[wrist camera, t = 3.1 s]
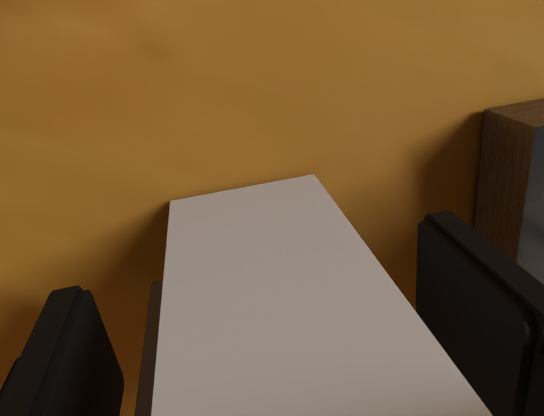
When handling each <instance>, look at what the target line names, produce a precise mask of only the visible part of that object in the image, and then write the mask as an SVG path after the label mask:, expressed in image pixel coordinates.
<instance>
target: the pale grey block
mask: <svg viewBox="0 0 544 416" xmlns="http://www.w3.org/2000/svg"><path fill="white" fill-rule="evenodd" d="M135 416H493V415H492V414H491V413H490V411H489V410H488V409H487V407H486V406H485V405H484V403H483V402H482V401H481V399H480V398H479V396H478V395H477V394H476V392H475V391H474V390H473V388H472V387H471V386H470V384H469V383H468V382H467V380H466V379H465V378H464V376H463V375H462V374H461V372H460V371H459V369H458V368H457V367H456V365H455V364H454V363H453V361H452V360H451V359H450V357H449V356H448V355H447V353H446V352H445V351H444V349H443V348H442V346H441V345H440V344H439V342H438V341H437V340H436V338H435V337H434V336H433V334H432V333H431V332H430V330H429V329H428V328H427V326H426V325H425V324H424V322H423V321H422V319H421V318H420V317H419V315H418V314H417V313H416V311H415V310H414V309H413V307H412V306H411V305H410V303H409V302H408V301H407V299H406V298H405V296H404V295H403V294H402V292H401V291H400V290H399V288H398V287H397V286H396V284H395V283H394V282H393V280H392V279H391V278H390V276H389V275H388V273H387V272H386V271H385V269H384V268H383V267H382V265H381V264H380V263H379V261H378V260H377V259H376V257H375V256H374V255H373V253H372V252H371V251H370V249H369V248H368V246H367V245H366V244H365V242H364V241H363V240H362V238H361V237H360V236H359V234H358V233H357V232H356V230H355V229H354V228H353V226H352V225H351V223H350V222H349V221H348V219H347V218H346V217H345V215H344V214H343V213H342V211H341V210H340V209H339V207H338V206H337V205H336V203H335V202H334V201H333V199H332V198H331V196H330V195H329V194H328V192H327V191H326V190H325V188H324V187H323V186H322V184H321V183H320V182H319V180H318V179H317V178H316V176H315V175H314V174H312V175H306V176H301V177H296V178H290V179H285V180H280V181H274V182H269V183H264V184H258V185H253V186H248V187H242V188H237V189H232V190H226V191H221V192H216V193H210V194H205V195H200V196H194V197H189V198H184V199H178V200H173V201H170V209H169V220H168V231H167V243H166V254H165V265H164V276H163V280H162V281H157V282H152V284H151V292H150V299H149V307H148V315H147V323H146V330H145V338H144V346H143V354H142V361H141V369H140V377H139V385H138V392H137V400H136V408H135Z"/></svg>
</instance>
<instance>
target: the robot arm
mask: <svg viewBox="0 0 544 416" xmlns="http://www.w3.org/2000/svg"><path fill="white" fill-rule="evenodd" d="M416 311H417V314H418V315H419V317H420V318H421V319H422V321H423V322H424V324H425V325H426V326H427V328H428V329H429V330H430V332H431V333H432V334H433V336H434V337H435V338H436V340H437V341H438V342H439V344H440V345H441V346H442V348H443V349H444V351H445V352H446V353H447V355H448V356H449V357H450V359H451V360H452V361H453V363H454V364H455V365H456V367H457V368H458V369H459V371H460V372H461V374H462V375H463V376H464V378H465V379H466V380H467V382H468V383H469V384H470V386H471V387H472V388H473V390H474V391H475V392H476V394H477V395H478V396H479V398H480V399H481V401H482V402H483V403H484V405H485V406H486V407H487V409H488V410H489V411H490V413H491V414H492V415H493V416H544V284H542V283H541V282H540V281H539V280H537V279H536V278H535V277H533V276H532V275H531V274H530V273H528V272H527V271H526V270H525V269H523V268H522V267H521V266H520V265H518V264H517V263H516V262H514V261H513V260H512V259H511V258H509V257H508V256H507V255H506V254H504V253H503V252H502V251H501V250H499V249H498V248H497V247H496V246H494V245H493V244H492V243H490V242H489V241H488V240H487V239H485V238H484V237H483V236H482V235H480V234H479V233H478V232H477V231H475V230H474V229H473V228H471V227H470V226H469V225H468V224H466V223H465V222H464V221H463V220H461V219H460V218H459V217H458V216H456V215H455V214H454V213H452V212H451V211H443V212H438V213H434V214H429V215H426V216H425V217H424V220H423V222H420V223H419V224H418V236H417V280H416ZM123 390H124V380H123V374H122V371H121V369H120V366H119V363H118V361H117V358H116V356H115V353H114V350H113V348H112V345H111V343H110V340H109V337H108V335H107V332H106V330H105V327H104V324H103V322H102V319H101V317H100V314H99V311H98V309H97V306H96V304H95V301H94V298H93V296H92V294H91V292H90V291H89V290H84V291H83V290H82V288H81V287H80V286H73V287H68V288H63V289H58V290H53V291H52V292H51V293H50V295H49V297H48V299H47V301H46V303H45V305H44V307H43V309H42V311H41V314H40V316H39V318H38V320H37V322H36V324H35V326H34V328H33V330H32V333H31V335H30V337H29V339H28V341H27V343H26V345H25V347H24V349H23V352H22V354H21V356H20V357H18V358H17V359H16V361H15V362H14V364H13V366H12V368H11V370H10V372H9V374H8V376H7V378H6V380H5V382H4V384H3V386H2V388H1V390H0V416H119V414H120V408H121V402H122V396H123Z"/></svg>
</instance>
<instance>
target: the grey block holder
mask: <svg viewBox="0 0 544 416" xmlns="http://www.w3.org/2000/svg"><path fill="white" fill-rule="evenodd" d="M474 230H475V231H477V232H478V233H479V234H480V235H482V236H483V237H484V238H485V239H487V240H488V241H489V242H490V243H492V244H493V245H494V246H496V247H497V248H498V249H499V250H501V251H502V252H503V253H504V254H506V255H507V256H508V257H509V258H511V259H512V260H513V261H514V262H516V263H517V264H518V265H520V266H521V267H522V268H523V269H525V270H526V271H527V272H528V273H530V274H531V275H532V276H533V277H535V278H536V279H537V280H539V281H540V282H541V283H542V284H544V99H538V100H533V101H527V102H521V103H516V104H510V105H505V106H499V107H494V108H488V109H485V113H484V124H483V136H482V147H481V158H480V170H479V181H478V192H477V204H476V215H475V226H474Z"/></svg>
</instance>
